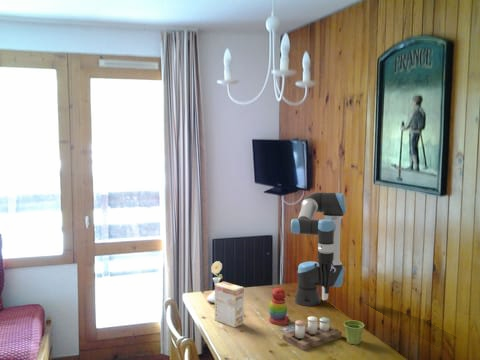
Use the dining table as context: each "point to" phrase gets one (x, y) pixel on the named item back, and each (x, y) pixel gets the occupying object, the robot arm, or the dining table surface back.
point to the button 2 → (324, 324)
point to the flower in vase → (215, 269)
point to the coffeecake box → (229, 304)
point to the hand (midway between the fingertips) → (324, 299)
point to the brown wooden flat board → (312, 338)
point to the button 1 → (300, 328)
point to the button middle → (312, 325)
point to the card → (288, 328)
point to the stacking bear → (278, 307)
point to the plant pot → (353, 331)
